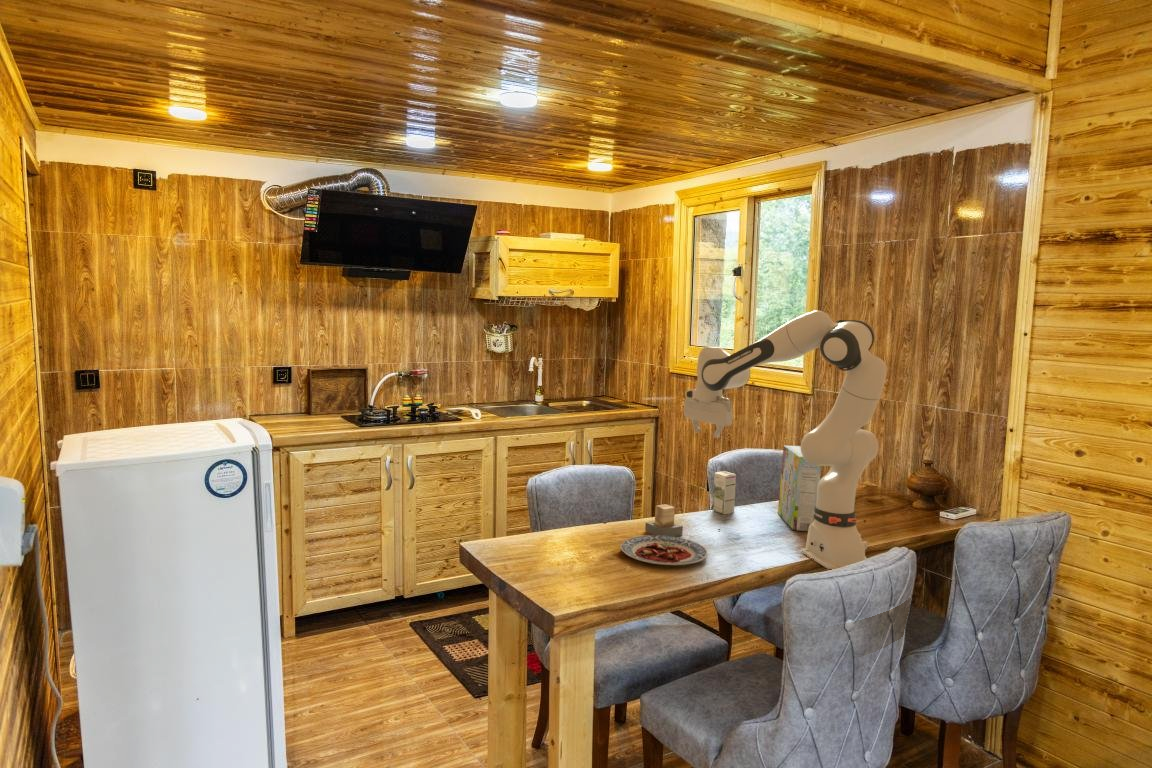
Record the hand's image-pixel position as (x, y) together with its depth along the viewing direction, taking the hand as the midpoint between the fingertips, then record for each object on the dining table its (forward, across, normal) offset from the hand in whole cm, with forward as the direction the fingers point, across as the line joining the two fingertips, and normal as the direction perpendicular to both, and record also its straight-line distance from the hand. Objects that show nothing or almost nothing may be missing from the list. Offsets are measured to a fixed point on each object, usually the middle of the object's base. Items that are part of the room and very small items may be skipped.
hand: (706, 435), depth 251 cm
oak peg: (+31, -1, +18) cm, 36 cm away
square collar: (+31, -1, +18) cm, 36 cm away
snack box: (+31, -14, -32) cm, 47 cm away
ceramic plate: (+32, -17, +32) cm, 48 cm away
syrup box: (+31, +8, -18) cm, 37 cm away
